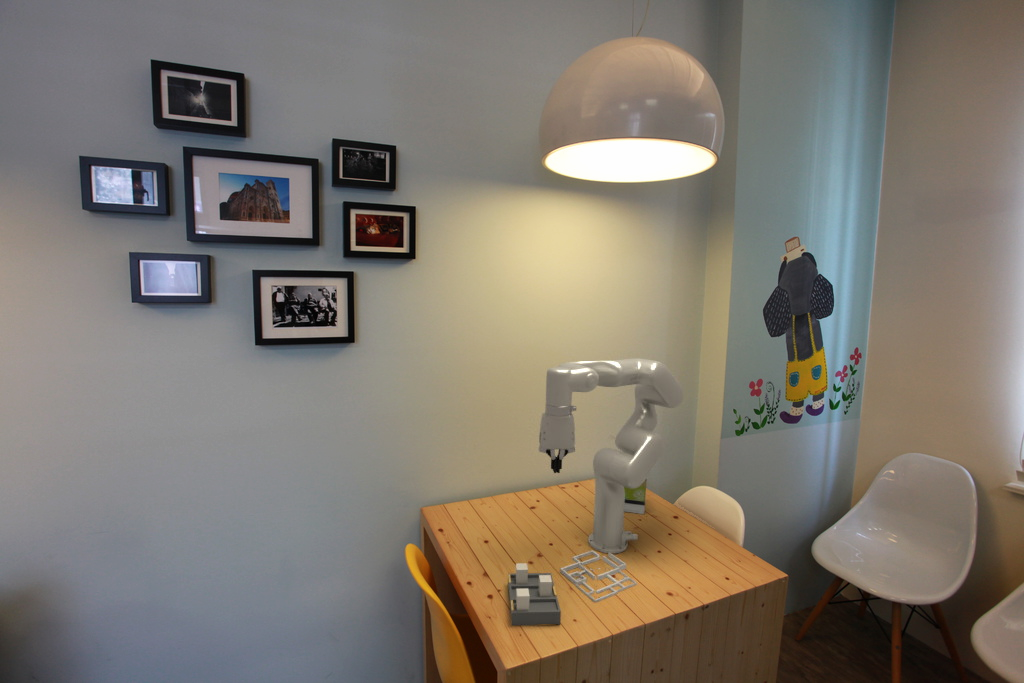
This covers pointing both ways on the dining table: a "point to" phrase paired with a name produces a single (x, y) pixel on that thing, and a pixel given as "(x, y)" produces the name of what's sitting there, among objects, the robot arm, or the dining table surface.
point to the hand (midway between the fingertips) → (556, 471)
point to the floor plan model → (607, 574)
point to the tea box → (635, 499)
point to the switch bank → (533, 603)
